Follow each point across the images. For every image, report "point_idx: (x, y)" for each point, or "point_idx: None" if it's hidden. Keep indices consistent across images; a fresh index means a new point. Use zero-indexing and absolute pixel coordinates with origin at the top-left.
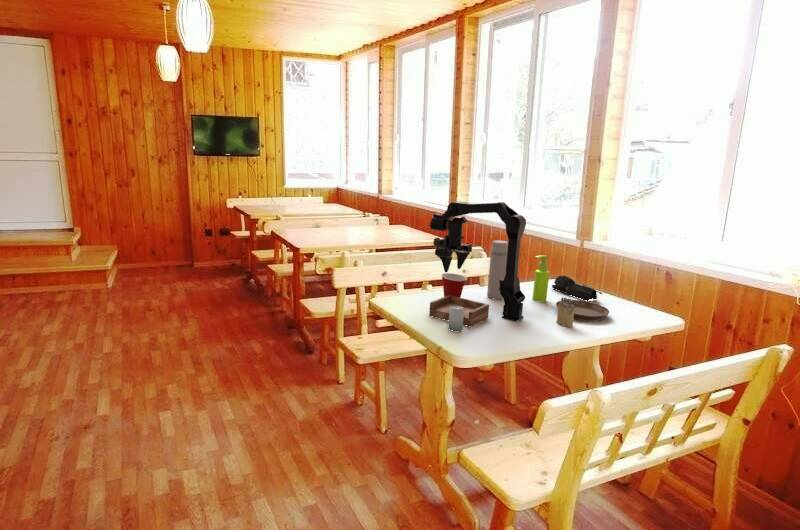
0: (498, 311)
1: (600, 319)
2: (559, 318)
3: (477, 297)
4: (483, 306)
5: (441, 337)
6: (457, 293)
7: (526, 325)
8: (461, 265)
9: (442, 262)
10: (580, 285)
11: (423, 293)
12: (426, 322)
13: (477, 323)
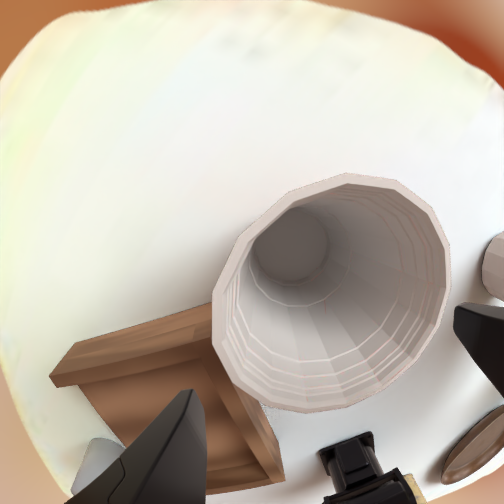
0: (373, 403)
1: (463, 466)
2: None
3: (460, 226)
4: (243, 487)
5: (57, 453)
6: (293, 326)
7: (322, 488)
8: (482, 363)
9: (100, 481)
10: None
11: (273, 24)
12: (47, 379)
13: None
